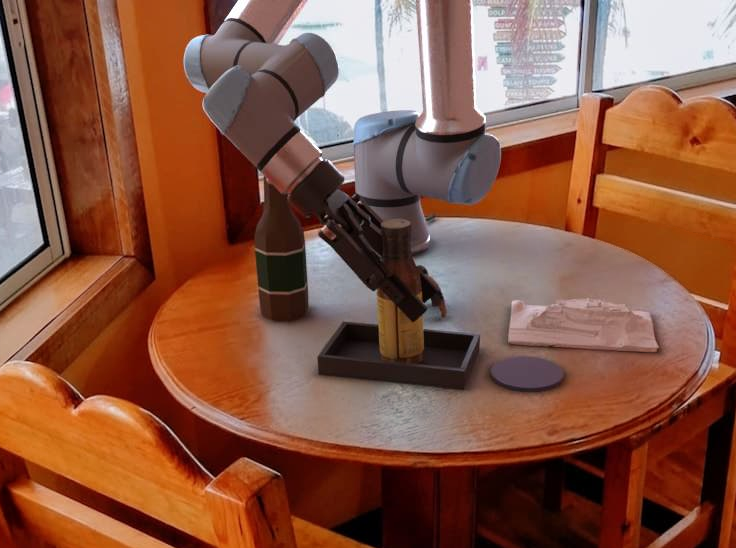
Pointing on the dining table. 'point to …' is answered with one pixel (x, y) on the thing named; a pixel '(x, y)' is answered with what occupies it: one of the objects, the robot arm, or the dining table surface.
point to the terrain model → (582, 326)
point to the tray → (364, 361)
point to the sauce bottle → (395, 327)
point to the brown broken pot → (438, 297)
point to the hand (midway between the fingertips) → (425, 305)
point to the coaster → (526, 373)
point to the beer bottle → (280, 259)
